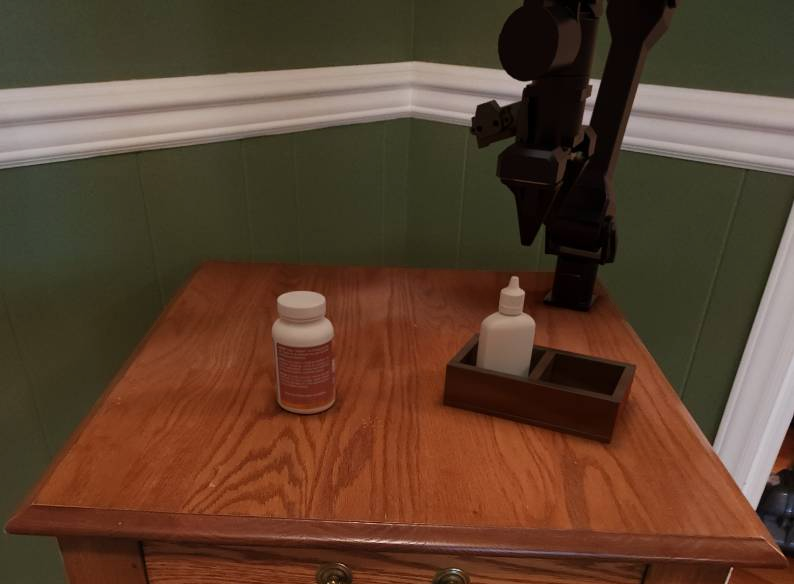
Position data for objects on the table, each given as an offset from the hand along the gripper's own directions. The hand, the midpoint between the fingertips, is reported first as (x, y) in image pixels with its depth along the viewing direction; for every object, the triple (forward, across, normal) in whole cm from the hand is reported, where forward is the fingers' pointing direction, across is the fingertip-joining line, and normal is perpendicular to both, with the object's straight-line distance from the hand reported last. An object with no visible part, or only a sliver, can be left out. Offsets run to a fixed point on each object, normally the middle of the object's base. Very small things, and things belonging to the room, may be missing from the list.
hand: (537, 235), depth 83 cm
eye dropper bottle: (+12, +15, +2) cm, 19 cm away
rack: (+13, +15, +6) cm, 21 cm away
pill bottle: (+13, +26, -16) cm, 33 cm away
